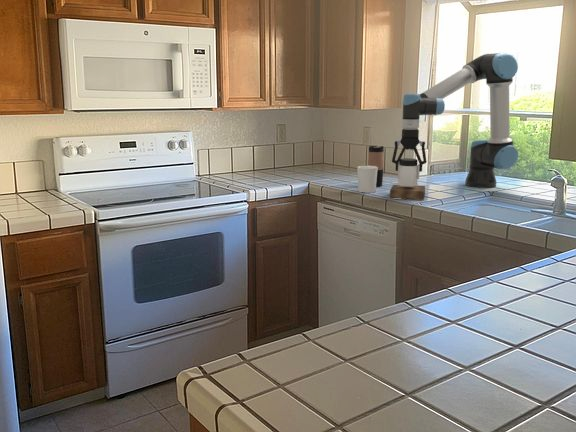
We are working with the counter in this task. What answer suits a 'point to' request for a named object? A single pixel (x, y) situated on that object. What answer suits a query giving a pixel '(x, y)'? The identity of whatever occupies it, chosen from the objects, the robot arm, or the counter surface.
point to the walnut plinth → (407, 192)
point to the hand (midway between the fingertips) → (408, 178)
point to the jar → (408, 172)
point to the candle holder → (367, 178)
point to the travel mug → (377, 162)
